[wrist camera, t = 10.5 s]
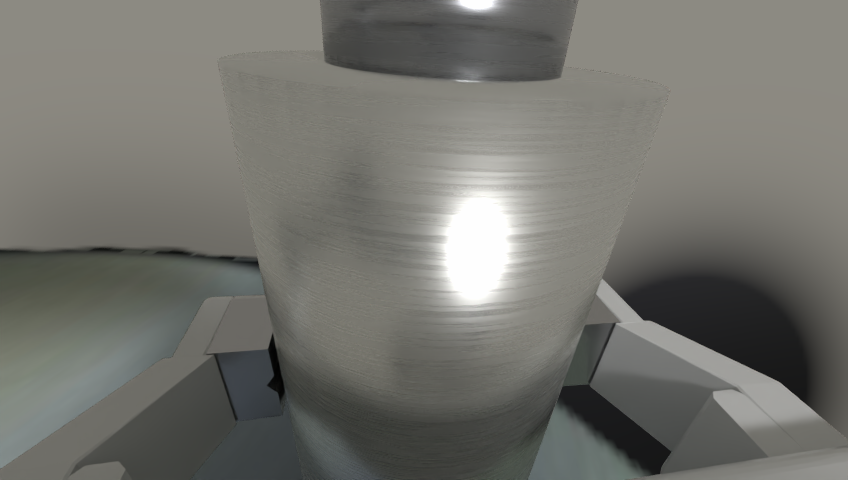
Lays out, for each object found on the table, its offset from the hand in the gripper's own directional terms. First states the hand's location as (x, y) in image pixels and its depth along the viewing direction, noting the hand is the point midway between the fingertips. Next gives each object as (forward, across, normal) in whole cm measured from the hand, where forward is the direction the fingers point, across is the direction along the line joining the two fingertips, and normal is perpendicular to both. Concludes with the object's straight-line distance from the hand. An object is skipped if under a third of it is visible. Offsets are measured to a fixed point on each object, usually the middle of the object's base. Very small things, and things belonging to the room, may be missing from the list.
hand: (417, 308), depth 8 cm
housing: (-1, 0, -8) cm, 8 cm away
